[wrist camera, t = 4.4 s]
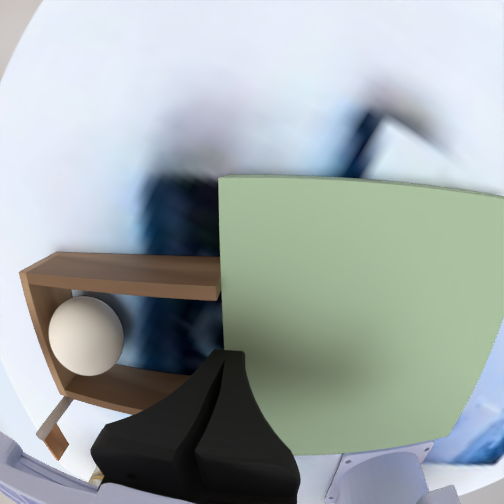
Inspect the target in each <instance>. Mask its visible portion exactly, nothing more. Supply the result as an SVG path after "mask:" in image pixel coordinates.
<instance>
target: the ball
mask: <svg viewBox="0 0 504 504" xmlns="http://www.w3.org/2000/svg"><path fill="white" fill-rule="evenodd" d="M49 341H50V345H51V348H52V351H53V353H54V355H55V356H56V358H57V359H58V360H59V362H60V363H61V364H62V365H63V366H64V367H66V368H67V369H69V370H70V371H72V372H74V373H76V374H80V375H85V376H94V375H99V374H101V373H104V372H106V371H107V370H109V369H110V368H111V367H113V366H114V365H115V363H116V362H117V361H118V359H119V357H120V355H121V353H122V350H123V345H124V333H123V328H122V325H121V322H120V320H119V318H118V316H117V315H116V313H115V312H114V311H113V310H112V308H111V307H109V306H108V305H107V304H106V303H104V302H103V301H101V300H99V299H96V298H93V297H88V296H78V297H74V298H71V299H69V300H67V301H65V302H64V303H62V304H61V305H60V306H59V307H58V308H57V309H56V311H55V312H54V314H53V316H52V318H51V321H50V325H49Z"/></svg>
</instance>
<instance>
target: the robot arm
mask: <svg viewBox="0 0 504 504" xmlns="http://www.w3.org/2000/svg"><path fill="white" fill-rule="evenodd" d="M433 445H434V441H433V440H429V441H425V442H420V443H415V444H410V445H405V446H399V447H393V448H386V449H379V450H372V451H363V452H353V453H345V454H344V455H343V457H342V460H341V462H340V465H339V467H338V469H337V472H336V474H335V477H334V479H333V481H332V484H331V486H330V488H329V490H328V493H327V495H326V497H325V499H324V502H325V503H326V504H331V503H335V504H461V503H460V500H459V498H458V495H457V492H456V489H455V487H454V485H450V486H447V487H444V488H440V489H437V490H434V491H431V492H429V489H428V486H427V483H426V480H425V477H424V474H423V471H422V468H421V463H422V462H423V460H424V459H425V457H426V456H427V454H428V453H429V451H430V450H431V448H432V447H433ZM91 456H92V458H93V460H94V462H95V463H96V465H97V466H98V468H99V469H100V471H101V472H102V474H103V475H104V477H103V479H102V481H101V483H100V485H99V487H98V486H95V485H93V484H90V483H87V482H85V481H82V480H80V479H77V478H75V477H73V476H70V475H68V474H66V473H64V472H61V471H59V470H57V469H55V468H53V467H51V466H49V465H46V464H45V463H43V462H41V461H39V460H37V459H35V458H33V457H31V456H29V455H28V454H26V453H24V452H23V450H22V449H21V447H20V446H19V445H18V444H17V443H16V442H15V441H14V440H13V439H12V438H10V437H8V436H7V435H5V434H3V433H1V432H0V492H1V493H3V494H4V495H5V496H7V497H8V498H10V499H11V500H13V501H14V502H16V503H17V504H297V493H298V489H299V486H300V473H299V469H298V466H297V464H296V461H295V459H294V456H293V454H292V452H291V450H290V449H289V448H288V447H287V446H286V445H285V444H284V442H283V441H282V440H281V439H280V438H279V437H278V435H277V434H276V433H275V432H274V430H273V429H272V427H271V426H270V424H269V423H268V422H267V420H266V419H265V417H264V415H263V413H262V412H261V410H260V408H259V406H258V404H257V402H256V400H255V398H254V395H253V393H252V390H251V387H250V384H249V381H248V377H247V373H246V368H245V353H244V352H243V351H233V350H218V349H215V350H214V351H212V353H211V354H210V355H209V356H208V358H207V359H206V360H205V361H204V362H203V364H202V365H201V366H200V367H199V368H198V369H197V370H196V371H195V372H194V373H193V374H192V375H191V376H190V377H189V378H188V379H187V380H186V381H185V382H184V383H183V384H182V385H181V386H179V387H178V388H177V389H176V390H175V391H173V392H172V393H171V394H169V395H168V396H167V397H165V398H164V399H162V400H161V401H159V402H158V403H156V404H154V405H152V406H151V407H149V408H147V409H145V410H143V411H141V412H139V413H137V414H135V415H132V416H130V417H127V418H125V419H122V420H119V421H115V422H112V423H109V424H106V425H105V427H104V428H103V429H102V431H101V432H100V434H99V435H98V437H97V439H96V441H95V442H94V444H93V446H92V448H91Z"/></svg>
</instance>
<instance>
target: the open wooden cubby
mask: <svg viewBox="0 0 504 504" xmlns="http://www.w3.org/2000/svg"><path fill="white" fill-rule="evenodd" d="M19 275H20V279H21V283H22V287H23V291H24V295H25V299H26V302H27V306H28V309H29V313H30V316H31V319H32V323H33V326H34V329H35V332H36V335H37V338H38V341H39V343H40V346H41V349H42V352H43V354H44V357H45V360H46V362H47V365H48V367H49V370H50V372H51V374H52V377H53V379H54V381H55V384H56V386H57V388H58V390H59V393H60V395H63V396H64V397H63V399H62V400H61V401H60V402H59V404H58V405H57V406H56V408H55V409H54V410H53V411H52V413H51V414H50V415H49V417H48V418H47V419H46V421H45V422H44V423H43V425H42V426H41V427H40V429H39V430H38V431H37V433H36V435H37V436H38V438H40V439H41V440H43V441H44V443H45V444H46V446H47V447H48V449H49V450H50V451H51V453H52V454H53V456H54V457H55V458H56V460H58V461H59V460H60V458H61V456H62V455H63V453H64V452H65V450H66V448H67V447H68V445H69V444H68V442H67V440H66V439H65V437H64V435H63V434H62V432H61V430H60V429H59V427H58V425H57V422H58V420H59V419H60V417H61V416H62V415H63V413H64V412H65V410H66V409H67V408H68V406H69V405H70V404H71V402H72V401H73V400H74V399H76V400H79V401H82V402H86V403H89V404H92V405H96V406H100V407H103V408H107V409H111V410H115V411H119V412H123V413H127V414H132V415H135V414H137V413H139V412H141V411H143V410H145V409H147V408H149V407H151V406H152V405H154V404H156V403H158V402H159V401H161V400H162V399H164V398H165V397H167V396H168V395H169V394H171V393H172V392H173V391H175V390H176V389H177V388H178V387H179V386H181V385H182V384H183V383H184V382H185V381H186V380H187V379H188V378H189V377H190V376H189V375H180V374H172V373H165V372H158V371H151V370H145V369H139V368H133V367H127V366H121V365H116V364H115V365H114V366H113V367H111V368H110V369H109V370H107V371H106V372H104V373H101V374H99V375H94V376H85V375H80V374H76V373H74V372H72V371H70V370H69V369H67V368H66V367H64V366H63V365H62V364H61V363H60V362H59V360H58V359H57V358H56V356H55V355H54V353H53V351H52V348H51V345H50V341H49V325H50V321H51V318H52V316H53V314H54V312H55V311H56V309H57V308H58V307H59V306H60V305H61V304H62V303H64V302H65V301H67V300H69V299H71V298H72V294H71V289H74V290H83V291H93V292H103V293H113V294H124V295H136V296H148V297H162V298H176V299H192V300H210V301H217V299H218V296H219V294H220V291H221V263H220V257H207V256H171V255H138V254H106V253H76V252H55V253H53V254H51V255H49V256H48V257H46V258H44V259H42V260H40V261H38V262H36V263H34V264H33V265H31V266H29V267H27V268H25V269H24V270H22V271H20V272H19Z"/></svg>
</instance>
